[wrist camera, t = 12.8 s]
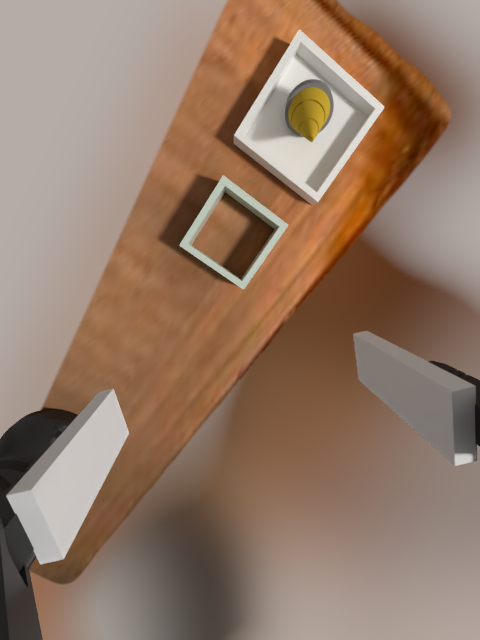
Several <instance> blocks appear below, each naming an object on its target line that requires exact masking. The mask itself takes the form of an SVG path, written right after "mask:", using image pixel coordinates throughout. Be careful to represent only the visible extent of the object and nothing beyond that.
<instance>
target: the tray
mask: <svg viewBox="0 0 480 640" xmlns="http://www.w3.org/2000/svg"><path fill="white" fill-rule="evenodd" d="M310 79H317V80H320V81H322V82H324V83H325V84H326V85H327V86H328V87H329V89H330V90H331V93H332V96H333V103H334V108H333V114H332V117H331V119H330V121H329V123H328V124H327V126H326V127H325V128H324V129H323V130H322V131H321V132H320V133H318V134H317V136H316V137H315V139H314V141H313V142H310V141H309V140H307V139H306V138H305V137H300V136H297V135H295V134H294V133H292V132H291V131H290V129H289V128H288V126H287V124H286V120H285V106H286V102H287V99H288V97H289V95H290V93H291V92H292V90H293V89H294V88H295V87H296V86H297V85H298V84H300V83H301V82H303V81H306V80H310ZM383 109H384V106H383V105H382V104H381V103H380V102H379V101H378V100H377V99H375V98H374V97H373V96H372V95H371V94H370V93H369V92H368V91H367V90H366V89H364V88H363V87H362V86H361V85H360V84H359V83H358V82H357V81H356V80H355V79H353V78H352V77H351V76H350V75H349V74H348V73H347V72H346V71H345V70H344V69H342V68H341V67H340V66H339V65H338V64H337V63H336V62H335V61H334V60H333V59H331V58H330V57H329V56H328V55H327V54H326V53H325V52H324V51H323V50H322V49H320V48H319V47H318V46H317V45H316V44H315V43H314V42H313V41H312V40H311V39H309V38H308V37H307V36H306V35H305V34H304V33H303V32H302V31H301V30H300V29H299V31H298V32H297V34H296V36H295V37H294V39H293V40H292V42H291V44H290V45H289V47H288V48H287V50H286V52H285V53H284V55H283V57H282V58H281V60H280V61H279V63H278V65H277V66H276V68H275V70H274V71H273V73H272V74H271V76H270V78H269V79H268V81H267V83H266V84H265V86H264V87H263V89H262V91H261V92H260V94H259V95H258V97H257V99H256V100H255V102H254V104H253V105H252V107H251V108H250V110H249V112H248V113H247V115H246V117H245V118H244V120H243V121H242V123H241V125H240V126H239V128H238V129H237V131H236V133H235V134H234V143H233V144H235V145H236V146H237V147H238V148H240V149H241V150H242V151H244V152H245V153H246V154H247V155H249V156H250V157H251V158H252V159H254V160H255V161H256V162H258V163H259V164H260V165H261V166H263V167H264V168H265V169H266V170H268V171H269V172H270V173H272V174H273V175H274V176H275V177H277V178H278V179H279V180H280V181H282V182H283V183H284V184H286V185H287V186H288V187H289V188H291V189H292V190H293V191H294V192H296V193H297V194H298V195H300V196H301V197H302V198H303V199H305V200H306V201H307V202H308V203H310V204H311V205H314V204H315V203H317V202H318V201H319V200H320V199H321V197H322V196H323V194H324V193H325V191H326V190H327V189H328V187H329V186H330V184H331V183H332V181H333V180H334V179H335V177H336V176H337V174H338V173H339V171H340V170H341V169H342V167H343V166H344V164H345V163H346V161H347V160H348V159H349V157H350V156H351V154H352V153H353V152H354V150H355V149H356V147H357V146H358V144H359V143H360V142H361V140H362V139H363V137H364V136H365V134H366V133H367V132H368V130H369V129H370V127H371V126H372V124H373V123H374V122H375V120H376V119H377V117H378V116H379V114H380V113H381V112H382V110H383Z"/></svg>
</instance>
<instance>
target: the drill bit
mask: <svg viewBox="0 0 480 640" xmlns="http://www.w3.org/2000/svg"><path fill="white" fill-rule="evenodd" d="M333 108H334V103H333V96H332V93H331V90H330V89H329V87H328V86H327V85H326V84H325V83H324V82H322V81H320V80H317V79H310V80H306V81H303V82H301V83H300V84H298V85H297V86H296V87H295V88H294V89H293V90H292V92H291V93H290V95H289V97H288V99H287V102H286V106H285V120H286V124H287V126H288V128H289V129H290V131H291V132H292V133H294V134H295V135H297V136H300V137H305V138H306V139H307V140H309V141H310V142H313V141H314V139H315V137H316V136H317V134H318V133H320V132H321V131H322V130H323V129H324V128H325V127H326V126H327V124H328V123H329V121H330V119H331V117H332V114H333Z"/></svg>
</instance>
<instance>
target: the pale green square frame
mask: <svg viewBox="0 0 480 640" xmlns="http://www.w3.org/2000/svg"><path fill="white" fill-rule="evenodd" d="M225 192H226V193H227V194H228V195H230V196H231V197H232V198H234V199H235V200H236V201H238V202H239V203H240V204H242V205H243V206H244V207H246V208H247V209H248V210H250V211H251V212H252V213H254V214H255V215H257V216H258V217H259V218H261V219H262V220H263V221H265V222H266V223H267V224H269V225H270V226H271V227H273V228H274V229H275V230H274V231H273V233H272V234H271V235H270V237H269V238H268V240H267V241H266V243H265V244H264V246H263V247H262V249H261V250H260V252H259V253H258V254H257V256H256V257H255V259H254V260H253V262H252V263H251V265H250V266H249V268H248V269H247V270H246V272H245V273H244V275H243V276H242V278H241V279H240V278H239V277H238V276H236V275H235V274H233V273H232V272H230V271H229V270H228V269H226V268H225V267H223V266H222V265H220V264H219V263H217V262H216V261H215V260H213V259H212V258H210V257H209V256H207V255H206V254H204V253H203V252H202V251H200V250H199V249H197V248H196V247H194V246H193V245H192V244H193V242H194V241H195V239H196V237H197V236H198V234H199V233H200V231H201V229H202V228H203V226H204V225H205V223H206V222H207V220H208V218H209V217H210V215H211V214H212V212H213V211H214V209H215V207H216V206H217V204H218V203H219V201H220V200H221V198H222V196H223V195H224V193H225ZM287 227H288V224H287V223H285V222H284V221H283V220H281V219H280V218H279V217H277V216H276V215H275V214H273V213H272V212H271V211H269V210H268V209H267V208H266V207H264V206H263V205H262V204H260V203H259V202H258V201H256V200H255V199H254V198H252V197H251V196H250V195H248V194H247V193H246V192H244V191H243V190H242V189H240V188H239V187H238V186H236V185H235V184H234V183H233V182H231V181H230V180H229V179H227V178H226V177H225V176H222V178H221V179H220V181H219V183H218V184H217V186H216V187H215V189H214V191H213V192H212V194H211V195H210V197H209V199H208V200H207V202H206V203H205V205H204V207H203V208H202V210H201V211H200V213H199V215H198V216H197V218H196V219H195V221H194V222H193V224H192V226H191V227H190V229H189V230H188V232H187V234H186V235H185V237H184V238H183V240H182V242H181V243H180V245H179V246H181V247H182V248H183V249H185V250H186V251H188V252H189V253H191V254H192V255H194V256H195V257H197V258H198V259H199V260H201V261H202V262H204V263H205V264H207V265H208V266H210V267H211V268H213V269H214V270H215V271H217V272H218V273H220V274H221V275H223V276H224V277H226V278H227V279H229V280H230V281H231V282H233V283H234V284H236V285H237V286H239V287H240V288H242V289H243V290H244V289H245V287H246V286H247V284H248V283H249V281H250V280H251V278H252V277H253V276H254V274H255V273H256V271H257V270H258V268H259V267H260V266H261V264H262V263H263V261H264V260H265V258H266V257H267V255H268V254H269V253H270V251H271V250H272V248H273V247H274V245H275V244H276V242H277V241H278V240H279V238H280V237H281V235H282V234H283V232H284V231H285V229H286V228H287Z"/></svg>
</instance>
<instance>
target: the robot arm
mask: <svg viewBox="0 0 480 640" xmlns="http://www.w3.org/2000/svg"><path fill="white" fill-rule="evenodd" d="M353 338H354V345H355V354H356V361H357V369H358V377H359V381H361V382H362V383H363V384H364V385H365V386H366V387H367V388H368V389H369V390H371V391H372V392H373V393H374V394H375V395H376V396H377V397H378V398H380V399H381V400H382V401H383V402H384V403H385V404H386V405H387V406H389V407H390V408H391V409H392V410H393V411H394V412H395V413H396V414H397V415H399V416H400V417H401V418H402V419H403V420H404V421H405V422H407V423H408V424H409V425H410V426H411V427H412V428H413V429H414V430H415V431H417V432H418V433H419V434H420V435H421V436H422V437H423V438H425V439H426V440H427V441H428V442H429V443H430V444H431V445H432V446H433V447H434V448H436V449H437V450H438V451H439V452H440V453H441V454H442V455H443V456H444V457H446V458H447V459H448V460H449V461H450V462H451V463H452V464H453V465H455V466H457V465H461V464H465V463H469V462H473V461H477V445H479V446H480V380H478V379H476V378H474V377H472V376H469V375H466V374H465V373H463V372H461V371H459V370H458V371H457V369H455V368H453V367H450V366H448V365H446V364H443V363H439V362H435V361H428V362H427V361H425V360H423V359H422V358H420V357H418V356H416V355H414V354H412V353H410V352H408V351H406V350H404V349H402V348H400V347H398V346H396V345H394V344H392V343H390V342H388V341H386V340H384V339H382V338H380V337H378V336H376V335H374V334H372V333H370V332H368V331H363V332H359V333H355V334H353ZM128 434H129V431H128V428H127V426H126V423H125V420H124V417H123V414H122V411H121V408H120V406H119V403H118V400H117V397H116V394H115V391H114V389H109V390H105V391H101V392H99V393H98V394H97V395H96V396H95V397H94V398H93V399H92V401H91V402H90V403H89V404H88V405H87V406H86V407H85V408H84V409H83V411H82V412H81V413H80V414H79V415H78V416H77V415H75V414H72V413H69V412H66V411H61V410H41V411H37V412H33V413H31V414H29V415H27V416H25V417H23V418H22V419H20V420H19V421H18V422H17V423H15V424H14V425H13V426H12V427H10V428H9V429H8V430H7V431H6V432H5V434H4V435H3V436H2V437H1V439H0V640H42V634H41V629H40V624H39V619H38V613H37V608H36V603H35V598H34V593H33V588H32V582H31V578H30V572H29V568H30V567H31V565H32V563H33V562H34V560H35V559H36V557H37V559H38V561H39V563H40V565H41V564H45V563H49V562H54V561H58V560H62V559H64V558H65V556H66V554H67V552H68V550H69V548H70V546H71V544H72V542H73V540H74V538H75V537H76V535H77V533H78V531H79V529H80V527H81V525H82V523H83V521H84V519H85V517H86V515H87V513H88V511H89V510H90V508H91V506H92V504H93V502H94V500H95V498H96V496H97V494H98V492H99V490H100V488H101V486H102V485H103V483H104V481H105V479H106V477H107V475H108V473H109V471H110V469H111V467H112V465H113V463H114V461H115V459H116V458H117V456H118V454H119V452H120V450H121V448H122V446H123V444H124V442H125V440H126V438H127V436H128Z"/></svg>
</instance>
